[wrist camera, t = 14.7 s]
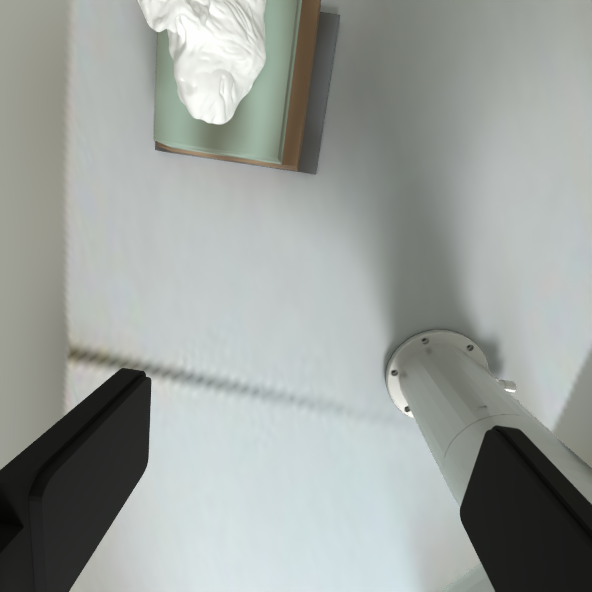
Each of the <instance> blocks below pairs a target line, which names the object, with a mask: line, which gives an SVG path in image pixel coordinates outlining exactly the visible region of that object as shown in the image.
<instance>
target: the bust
mask: <svg viewBox="0 0 592 592" xmlns="http://www.w3.org/2000/svg"><path fill="white" fill-rule="evenodd" d="M137 1H138V3H139V5H140V7H141V9H142V12H143V14H144V16H145V18H146V21H147V23H148V25H149V26H150V27H151V28H152V29H154V30H155V31H156V32H161V31H163V30H165V29H167V31H168V37H169V52H170V55H171V57H172V58H173V60H174V78H175V80H176V83H177V87H178V88H177V93H178V96H179V98H180V100H181V102H182V103H183V104H184V105H185V106H186V107H187V109H188V111H189V113H190V114H191V115H192V117H193V118H195V119H201V120H204V121H205V122H207V123H213V124H218V125H219V124H224V123H226V122H228V121H229V120H230V119H231V118H232V117H233V115H234V112H235V110H236V108H237V106H238V104H239V102H240V101H241V100H242V98H243V97H245V96H246V95H247V94H248V93H249V91H250V90H251V88H252V86H253V83H254V80H255V79H256V78H257V76H258V75H259V73H260V71H261V70H262V68H263V67H264V64H265V61H266V52H265V23H264V12H265V5H266V0H137Z"/></svg>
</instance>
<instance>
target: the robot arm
mask: <svg viewBox="0 0 592 592" xmlns="http://www.w3.org/2000/svg"><path fill="white" fill-rule="evenodd" d="M423 338H425V339H424V340H422V339H423ZM392 370H394V371H392ZM386 386H387V389H388V392H389V395H390V397H391V399H392V401H393V403H394V404H395V405H396V406H397V408H398V409H399V410H400V411H401V412H403V413H404V414H405V415H407V416H409V417H411V418H413V419H415V420H416V422H417V424H418V427H419V429H420V431H421V433H422V435H423V437H424V439H425V441H426V443H427V445H428V447H429V449H430V451H431V453H432V455H433V457H434V459H435V461H436V463H437V465H438V467H439V469H440V471H441V473H442V475H443V477H444V479H445V481H446V483H447V485H448V487H449V489H450V491H451V493H452V495H453V497H454V498H455V500H456V502H457V503H458V505H459V506H460V518H461V521H462V524H463V526H464V528H465V530H466V532H467V534H468V536H469V539H470V541H471V543H472V545H473V547H474V549H475V551H476V553H477V555H478V557H479V559H480V561H481V563H480V564H479V565H478V566H476V567H475V568H473V569H472V570H470V571H469V572H467V573H466V574H464V575H463V576H462V577H460V578H459V579H457V580H456V581H454V582H453V583H451V584H450V585H449V586H447V587H446V588H444V589H443V590H441V591H440V592H592V468H591V467H590V466H589V465H588V464H587V463H586V462H584V461H583V460H582V459H581V458H580V457H579V456H578V455H576V454H575V453H574V452H573V451H572V450H571V449H570V448H568V447H567V446H566V445H565V444H564V443H563V442H562V441H561V440H560V439H558V438H557V437H556V436H555V435H554V434H553V433H552V432H551V431H550V430H549V429H548V428H546V427H545V426H544V425H543V424H542V423H541V422H540V421H539V420H538V419H537V418H536V417H534V416H533V415H532V414H531V413H530V412H529V411H528V410H527V409H526V408H525V407H524V406H523V405H522V404H520V402H519V400H517V399H515V398H514V397H513V396H512V395H511V394H510V393H514V392H515V391H516V384H515V383H514V382H512V381H506V380H498V379H497V378H496V377H495V376H494V375H493V374H492V373H491V372H490V371H489V366H488V363H487V359H486V357H485V355H484V354H483V352H482V350H481V349H480V348H479V347H478V346H477V345H476V344H475V343H474V342H473V341H471V340H470V339H469V338H467V337H465V336H464V335H462V334H459V333H456V332H454V331H448V330H431V331H426V332H422V333H420V334H417V335H415V336H413V337H411V338H410V339H408V340H406V341H405V342H404V343H403V344H402V345H400V346H399V347H398V348H397V350H396V351H395V352H394V354H393V355H392V357H391V359H390V361H389V363H388V366H387V370H386ZM150 404H151V378H149V377H146V374H145V372H144V371H140V370H133V369H126V368H122V369H120V370H119V371H118V372H116V373H115V374H114V375H113V376H112V377H110V378H109V379H108V380H107V381H106V382H104V383H103V384H102V385H101V386H100V387H99V388H97V389H96V390H95V391H94V392H93V393H91V394H90V395H89V396H88V397H87V398H85V399H84V400H83V401H82V402H81V403H80V404H78V405H77V406H76V407H75V408H74V409H72V410H71V411H70V412H69V413H68V414H66V415H65V416H64V417H63V418H62V419H60V421H58V422H57V423H56V424H55V425H53V426H52V427H51V428H50V429H49V430H47V431H46V432H45V433H44V434H43V435H41V436H40V437H39V438H38V439H37V440H36V441H34V442H33V443H32V444H31V445H30V446H28V447H27V448H26V449H25V450H24V451H22V452H21V453H20V454H19V455H18V456H16V457H15V458H14V459H13V460H12V461H11V462H9V463H8V464H7V465H6V466H5V467H3V468H2V469H1V470H0V592H69V591H70V589H71V587H72V586H73V584H74V583H75V581H76V579H77V578H78V576H79V575H80V573H81V572H82V570H83V568H84V567H85V565H86V564H87V562H88V560H89V559H90V557H91V556H92V554H93V553H94V551H95V549H96V548H97V546H98V545H99V543H100V542H101V540H102V538H103V537H104V535H105V534H106V532H107V530H108V529H109V527H110V526H111V524H112V523H113V521H114V519H115V518H116V516H117V515H118V513H119V511H120V510H121V508H122V507H123V505H124V504H125V502H126V500H127V499H128V497H129V496H130V494H131V493H132V491H133V489H134V488H135V486H136V485H137V483H138V481H139V480H140V478H141V477H142V475H143V473H144V472H145V469H146V467H147V463H148V455H149V429H150Z"/></svg>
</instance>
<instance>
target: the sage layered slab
mask: <svg viewBox="0 0 592 592" xmlns="http://www.w3.org/2000/svg"><path fill="white" fill-rule="evenodd" d="M320 2H321V0H266V5H265V12H264V23H265V52H266V61H265V64H264V67H263V68H262V70H261V71H260V73H259V75H258V76H257V78H256V79H255V80H254V83H253V86H252V88H251V90H250V91H249V93H248V94H247V95H246V96H245V97H243V98H242V100H241V101H240V102H239V104H238V106H237V108H236V110H235V112H234V115H233V117H232V118H231V119H230V120H229V121H228V122H226V123H224V124H219V125H218V124H213V123H207V122H205V121H204V120H201V119H195V118H193V117H192V115H191V114H190V113H189V111H188V109H187V107H186V106H185V105H184V104H183V103H182V102H181V100H180V98H179V96H178V93H177V88H178V87H177V83H176V80H175V78H174V60H173V58H172V57H171V55H170V52H169V37H168V31H167V29H165V30H163V31H161V32H157V61H156V90H155V119H154V140H155V150H158V151H163V152H170V153H177V154H183V155H190V156H197V157H203V158H210V159H217V160H223V161H230V162H237V163H243V164H250V165H257V166H263V167H270V168H277V169H283V170H290V171H297V172H304V173H310V174H316V170H317V164H318V157H319V151H320V144H321V137H322V131H323V124H324V117H325V111H326V104H327V98H328V91H329V84H330V78H331V71H332V65H333V58H334V51H335V45H336V38H337V32H338V25H339V18H340V15H337V14H330V13H323V12H320Z"/></svg>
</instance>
